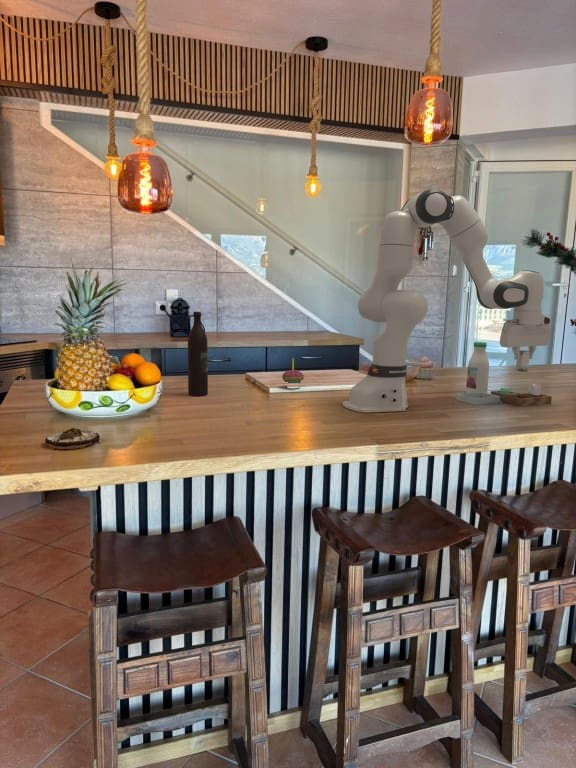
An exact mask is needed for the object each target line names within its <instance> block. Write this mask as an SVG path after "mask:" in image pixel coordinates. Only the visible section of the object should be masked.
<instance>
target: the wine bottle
mask: <svg viewBox="0 0 576 768" xmlns="http://www.w3.org/2000/svg"><path fill="white" fill-rule="evenodd" d="M192 316H193V324H192V327H191V330H190V331H189V333H188V336H187V380H188V381H187V392H188V396H191V397H205V396H207V395H208V394H209V384H208V383H209V378H208V377H209V373H208V372H209V369H208V367H209V366H208V364H209V363H208V361H209V360H208V359H209V358H208V357H209V356H208V350H209V349H208V338H207V334H206V331H205V330H204V328H203V325H202V312H201V311H193V313H192Z"/></svg>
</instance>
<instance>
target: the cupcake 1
mask: <svg viewBox="0 0 576 768" xmlns="http://www.w3.org/2000/svg"><path fill="white" fill-rule="evenodd" d="M291 362H292V363H291V370H289V369H288V370H285V372H283V373H282V377H281V378H282V380H283V381H284V383H285V382H288V383H300V384H301V382H302V380H304V379H305V376H304V375H305V374H303V372H301V371H299V370H295V359H294V358H292V359H291Z"/></svg>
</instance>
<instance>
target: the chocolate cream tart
mask: <svg viewBox="0 0 576 768" xmlns="http://www.w3.org/2000/svg"><path fill="white" fill-rule="evenodd" d="M100 438H101V436H100V434H99V432H97V431H95V432H94V431H91V430H87V429H80V428H75V427H72V428H69V429H67V430H62V431H58V432H55V433H52V434H49V435H48V436H46V437H45V439H44V441H45V445H47V446H48V447H49V448H50V449H52V448H53V450H55V451H75V450H77V451H78V450H82V449H86V448H91V447H92V448H94V446H95V445H96V444H100V445H102V441H100ZM105 441H106V440H103V442H105Z"/></svg>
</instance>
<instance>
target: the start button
mask: <svg viewBox="0 0 576 768" xmlns="http://www.w3.org/2000/svg"><path fill="white" fill-rule="evenodd" d="M510 391H512V389H511V388H510V387H500V392H501V393H505V394H507V393H510Z"/></svg>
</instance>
